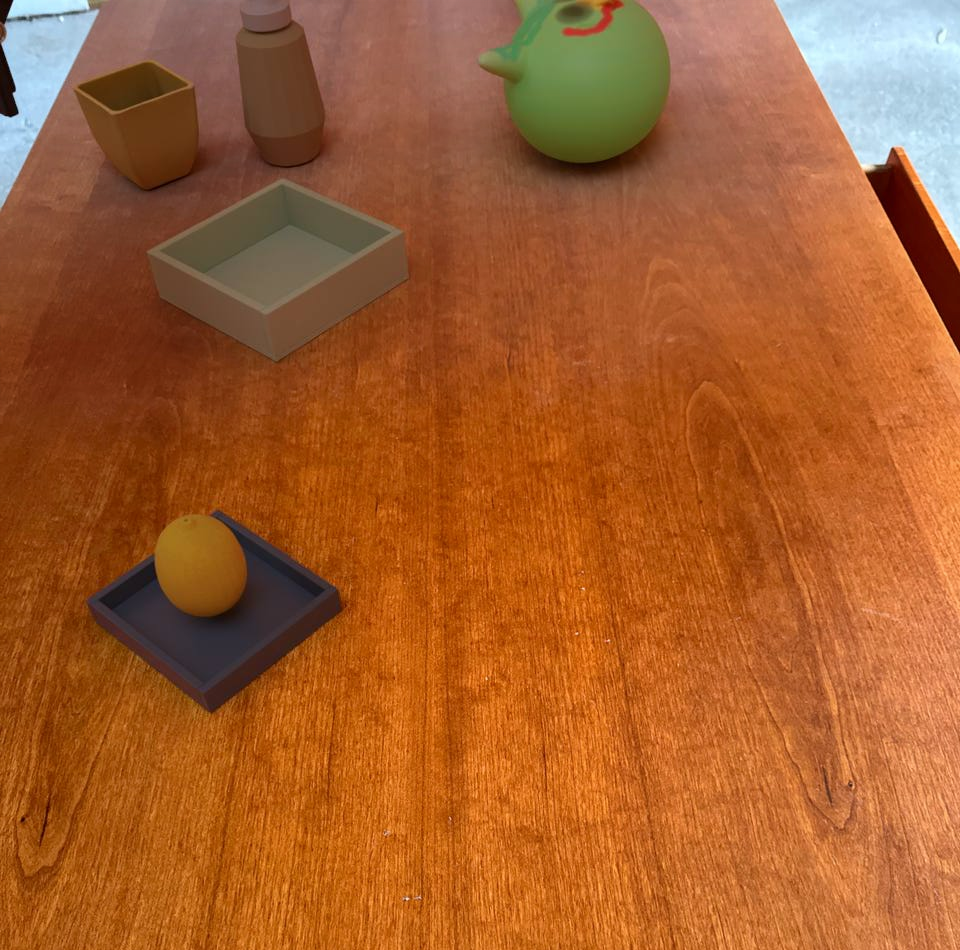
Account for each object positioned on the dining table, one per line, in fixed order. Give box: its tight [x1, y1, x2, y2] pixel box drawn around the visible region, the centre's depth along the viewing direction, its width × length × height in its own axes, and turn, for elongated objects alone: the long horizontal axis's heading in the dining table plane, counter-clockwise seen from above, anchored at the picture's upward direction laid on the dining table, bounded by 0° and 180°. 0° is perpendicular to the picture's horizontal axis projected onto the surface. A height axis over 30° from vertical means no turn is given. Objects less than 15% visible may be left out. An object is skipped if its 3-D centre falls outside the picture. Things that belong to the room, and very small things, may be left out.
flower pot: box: [71, 58, 200, 191], centre depth 115 cm, size 9×9×9 cm
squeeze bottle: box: [235, 0, 326, 167], centre depth 113 cm, size 8×8×18 cm
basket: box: [146, 177, 410, 363], centre depth 102 cm, size 16×16×4 cm
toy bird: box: [477, 0, 671, 164], centre depth 112 cm, size 18×17×15 cm
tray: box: [85, 508, 343, 714], centre depth 77 cm, size 12×11×2 cm
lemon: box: [154, 513, 247, 617], centre depth 74 cm, size 6×6×8 cm
